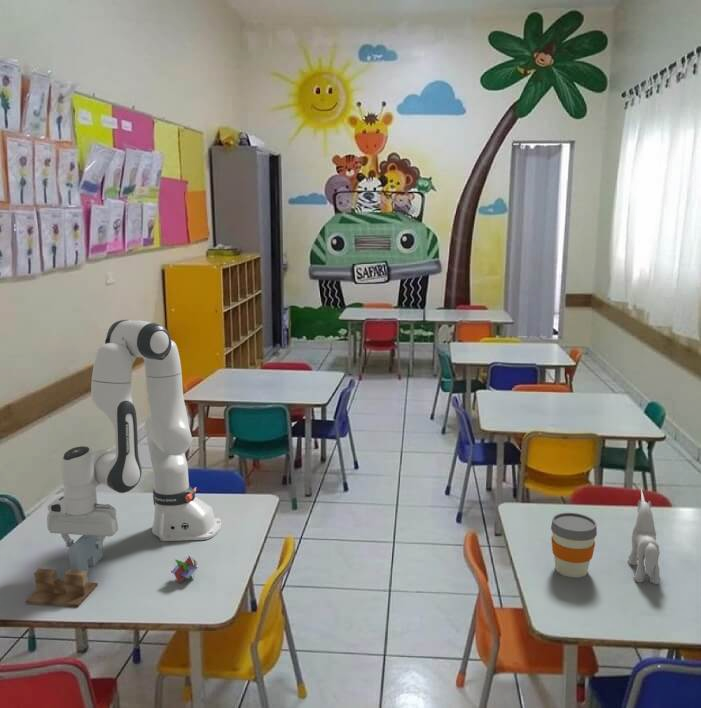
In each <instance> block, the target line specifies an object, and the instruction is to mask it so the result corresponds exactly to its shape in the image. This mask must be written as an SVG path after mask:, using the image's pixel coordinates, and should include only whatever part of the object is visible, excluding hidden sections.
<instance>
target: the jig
mask: <svg viewBox="0 0 701 708" xmlns="http://www.w3.org/2000/svg"><path fill="white" fill-rule="evenodd" d="M33 575H34V585H35V591H34V592H33V593H32V594H31V595H30V596H29V597H28V598H27V599H26V600H25V604H26V603H29V604H28V605H37V606H38V605H41V606H56V607H70V608H79V607H80V606H81V605H82V604H83V602H84V601H85V600H87V598H88V597H89V596H90V595H91V594H92V593H93V592H94V590H95V589H96V588H97V587H98V585H99V584H98V582H92V581H88V573H87V572H86V571H74V570H70V569H68V570H67V571H65V573H64V574H63V578H64V579H58V570H57V569H56V568H54V569H53V568H41V567H40V568H39V567H38V568H37V569H36V570H35V571H34V572H33Z"/></svg>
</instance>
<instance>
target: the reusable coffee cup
mask: <svg viewBox="0 0 701 708" xmlns="http://www.w3.org/2000/svg"><path fill="white" fill-rule="evenodd" d="M550 529H551V533H552V535H551V537H550V539H551V550H552V555H553V557H554V567H555V568H554V569H555V570H556V571H557V573H559V574H560V575H562V576H565V577H568V578H575V579H576V578H583V577H585V576H587V574H588V571H589V566H590V562H591V560H592V559H593V556H594V551H595V546H596V539H595V538H596V537H597V535H598V534H597V533H598V532H597V531H598V530H597V522H596V521H595V520H594V519H593V518H591V517H590V516H588V515H585V514H582V513H577V512H561V513H556V514H555V515H554V516H553V517H552V519H551V525H550Z"/></svg>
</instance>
